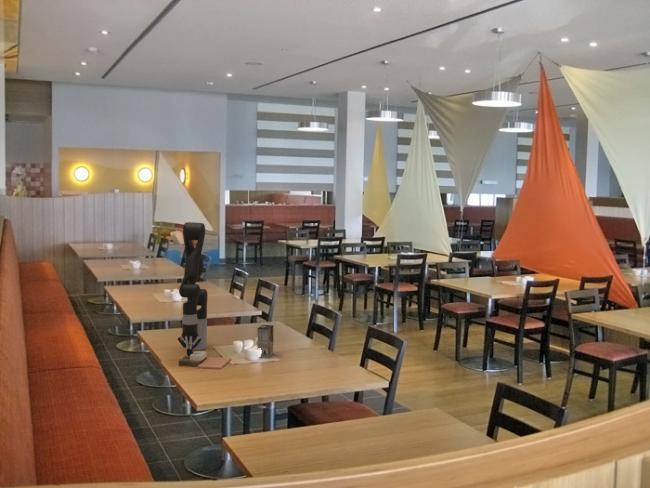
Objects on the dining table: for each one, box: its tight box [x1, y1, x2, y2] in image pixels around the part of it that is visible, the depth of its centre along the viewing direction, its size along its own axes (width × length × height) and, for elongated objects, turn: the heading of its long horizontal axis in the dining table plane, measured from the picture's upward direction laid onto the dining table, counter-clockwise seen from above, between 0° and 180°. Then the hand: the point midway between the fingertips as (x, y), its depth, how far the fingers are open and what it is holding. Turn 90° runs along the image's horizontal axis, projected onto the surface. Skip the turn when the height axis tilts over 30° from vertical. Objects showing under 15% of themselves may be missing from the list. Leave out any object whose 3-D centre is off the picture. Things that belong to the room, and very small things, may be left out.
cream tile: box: [190, 350, 208, 361], centre depth 350 cm, size 9×6×2 cm, turn 171°
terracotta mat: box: [197, 356, 232, 370], centre depth 350 cm, size 18×12×1 cm, turn 172°
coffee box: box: [257, 324, 274, 359], centre depth 366 cm, size 9×6×16 cm
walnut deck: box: [178, 354, 208, 368], centre depth 351 cm, size 14×10×2 cm
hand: (189, 355), depth 351 cm, fingers closed
